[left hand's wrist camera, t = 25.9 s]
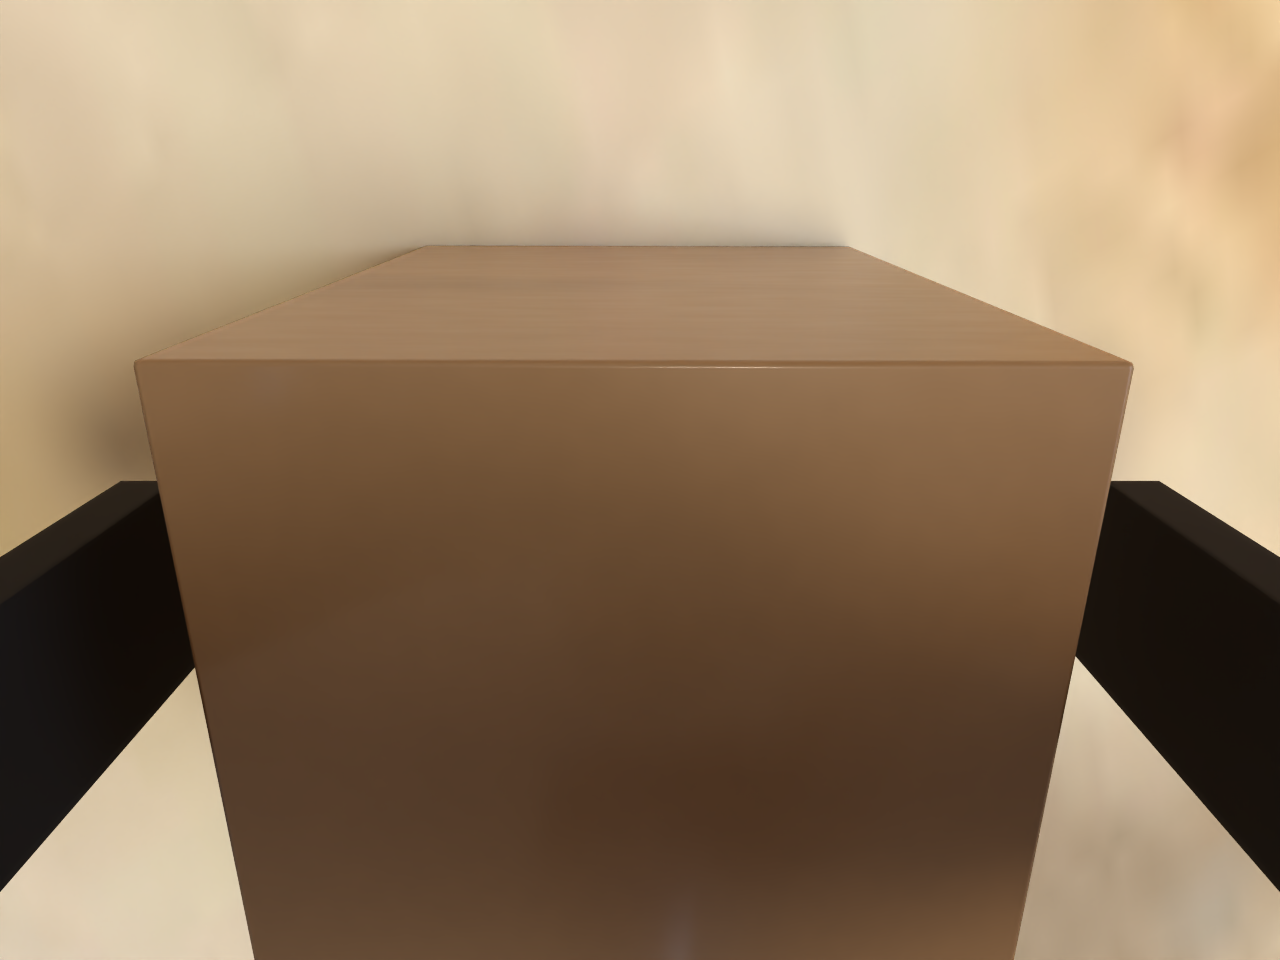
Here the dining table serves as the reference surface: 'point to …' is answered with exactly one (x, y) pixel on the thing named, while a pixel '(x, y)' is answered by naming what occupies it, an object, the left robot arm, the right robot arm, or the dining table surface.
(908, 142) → the dining table surface
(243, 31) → the dining table surface
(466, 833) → the block
